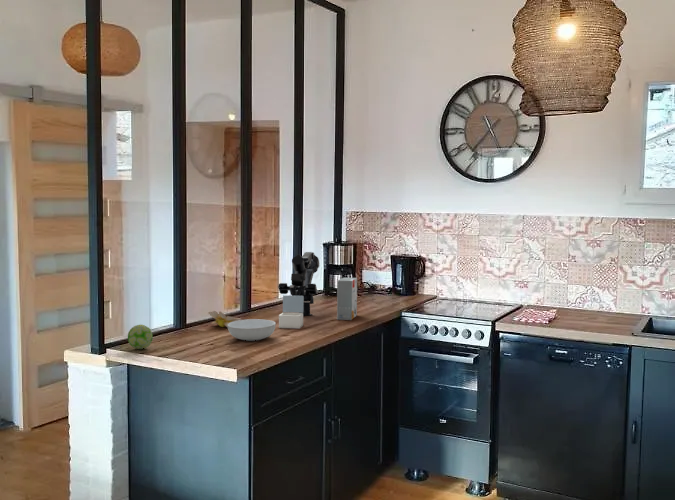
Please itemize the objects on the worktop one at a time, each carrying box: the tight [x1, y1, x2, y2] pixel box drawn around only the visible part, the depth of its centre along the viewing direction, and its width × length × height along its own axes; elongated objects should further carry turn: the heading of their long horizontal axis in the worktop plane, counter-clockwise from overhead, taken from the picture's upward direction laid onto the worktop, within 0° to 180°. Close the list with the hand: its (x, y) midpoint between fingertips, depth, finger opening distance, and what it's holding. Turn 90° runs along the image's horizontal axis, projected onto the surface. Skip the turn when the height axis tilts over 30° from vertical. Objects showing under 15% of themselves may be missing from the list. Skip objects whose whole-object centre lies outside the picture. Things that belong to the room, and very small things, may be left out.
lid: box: [282, 294, 304, 313], centre depth 330 cm, size 8×10×1 cm
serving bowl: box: [227, 318, 277, 342], centre depth 298 cm, size 21×21×7 cm
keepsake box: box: [278, 312, 304, 329], centre depth 325 cm, size 8×10×6 cm
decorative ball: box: [127, 324, 153, 350], centre depth 278 cm, size 10×10×10 cm
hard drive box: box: [336, 277, 358, 321], centre depth 349 cm, size 16×8×20 cm, turn 168°
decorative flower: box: [207, 310, 242, 328], centre depth 326 cm, size 15×11×10 cm
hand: (295, 302), depth 334 cm, fingers closed
